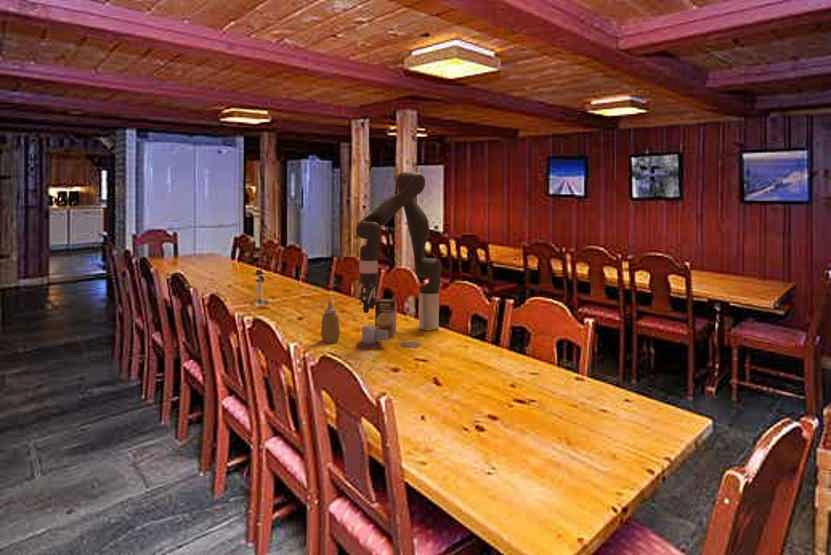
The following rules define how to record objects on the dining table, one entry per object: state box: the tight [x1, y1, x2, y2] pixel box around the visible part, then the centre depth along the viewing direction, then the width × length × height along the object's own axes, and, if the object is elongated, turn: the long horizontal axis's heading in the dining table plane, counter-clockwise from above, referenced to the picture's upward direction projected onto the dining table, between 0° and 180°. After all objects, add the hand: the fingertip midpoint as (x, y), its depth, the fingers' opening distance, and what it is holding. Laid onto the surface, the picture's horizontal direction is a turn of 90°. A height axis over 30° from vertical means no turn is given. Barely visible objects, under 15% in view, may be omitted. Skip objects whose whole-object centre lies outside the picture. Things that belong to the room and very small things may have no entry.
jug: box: [361, 325, 389, 345], centre depth 228 cm, size 11×6×8 cm, turn 80°
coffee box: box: [374, 298, 398, 337], centre depth 248 cm, size 9×6×16 cm
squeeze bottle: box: [320, 300, 341, 344], centre depth 235 cm, size 8×8×18 cm
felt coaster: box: [398, 341, 422, 349], centre depth 232 cm, size 9×9×1 cm
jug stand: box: [354, 339, 384, 352], centre depth 229 cm, size 12×12×2 cm
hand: (368, 310), depth 227 cm, fingers open, 8 cm apart
